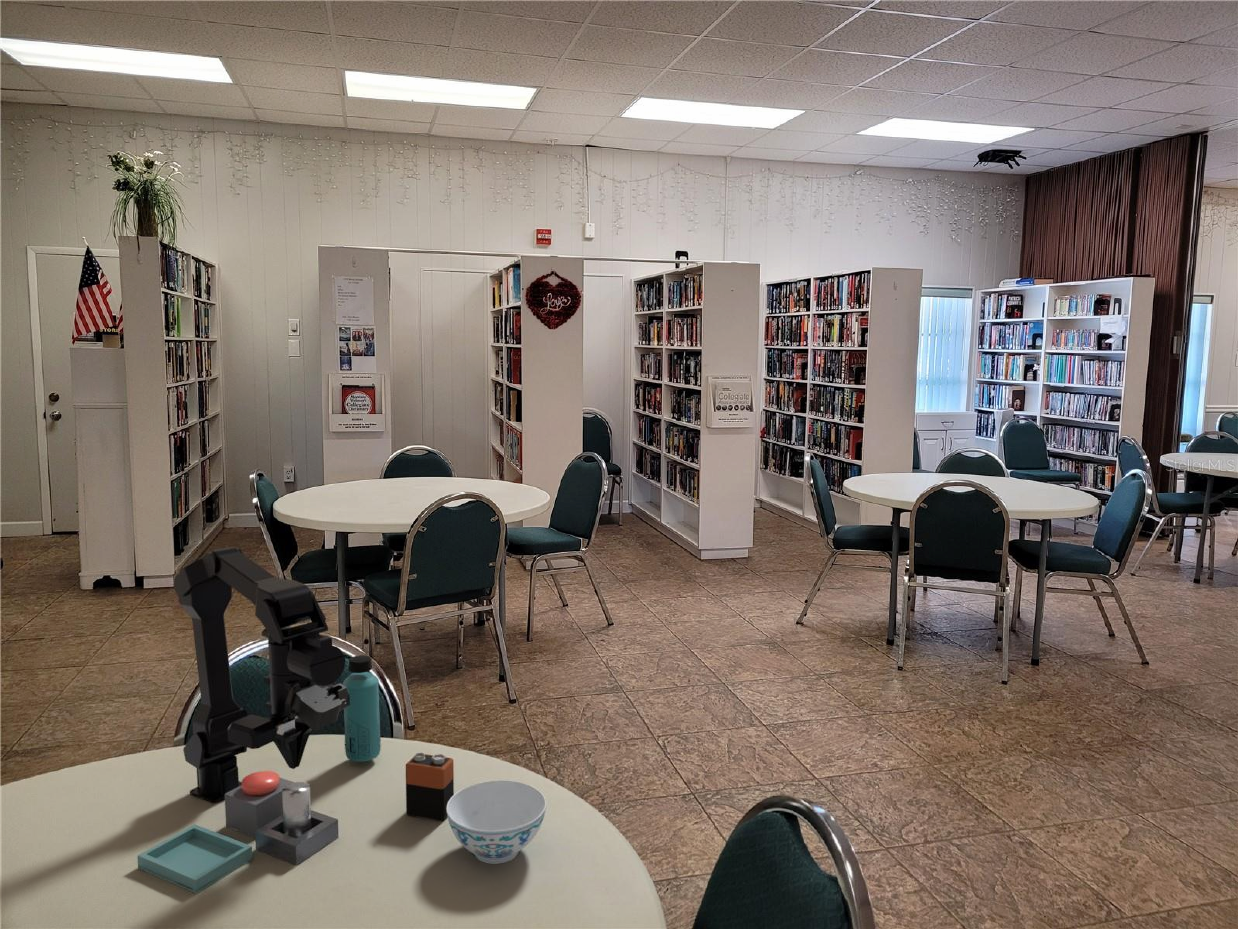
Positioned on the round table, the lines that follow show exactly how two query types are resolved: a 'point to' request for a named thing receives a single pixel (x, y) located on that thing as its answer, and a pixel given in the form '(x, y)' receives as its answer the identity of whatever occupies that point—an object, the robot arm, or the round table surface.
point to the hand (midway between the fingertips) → (294, 767)
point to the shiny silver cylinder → (296, 809)
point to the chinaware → (496, 818)
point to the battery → (429, 785)
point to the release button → (260, 783)
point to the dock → (253, 808)
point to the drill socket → (304, 846)
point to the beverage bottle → (362, 711)
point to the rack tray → (195, 858)
